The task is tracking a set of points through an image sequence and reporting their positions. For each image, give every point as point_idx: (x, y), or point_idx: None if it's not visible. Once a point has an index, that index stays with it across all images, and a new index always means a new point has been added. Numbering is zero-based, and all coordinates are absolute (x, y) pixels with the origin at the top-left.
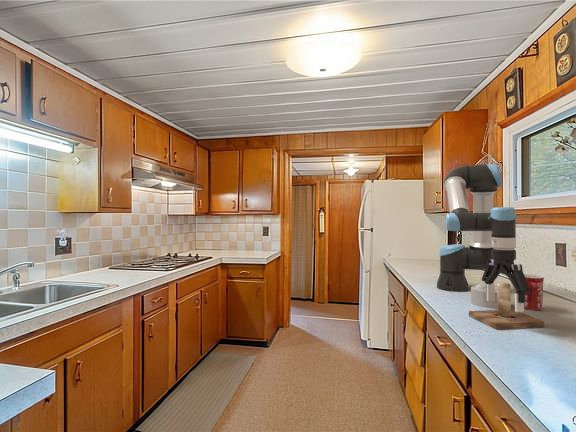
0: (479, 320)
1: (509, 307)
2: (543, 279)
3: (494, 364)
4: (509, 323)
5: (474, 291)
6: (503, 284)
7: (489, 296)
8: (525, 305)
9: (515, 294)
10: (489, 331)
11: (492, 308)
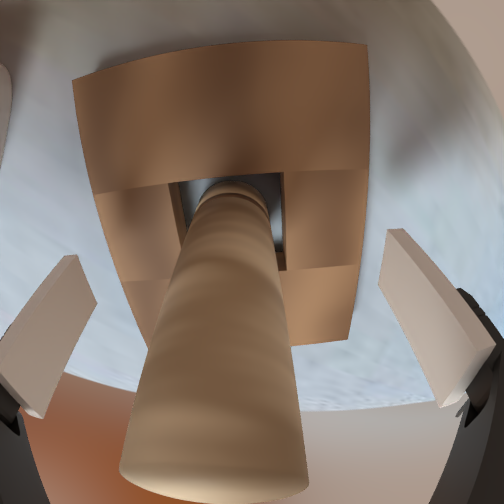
0: None
1: (274, 257)
2: None
3: None
4: (357, 280)
5: None
6: (268, 497)
7: (77, 320)
8: None
9: (441, 393)
10: (351, 347)
11: (4, 146)
